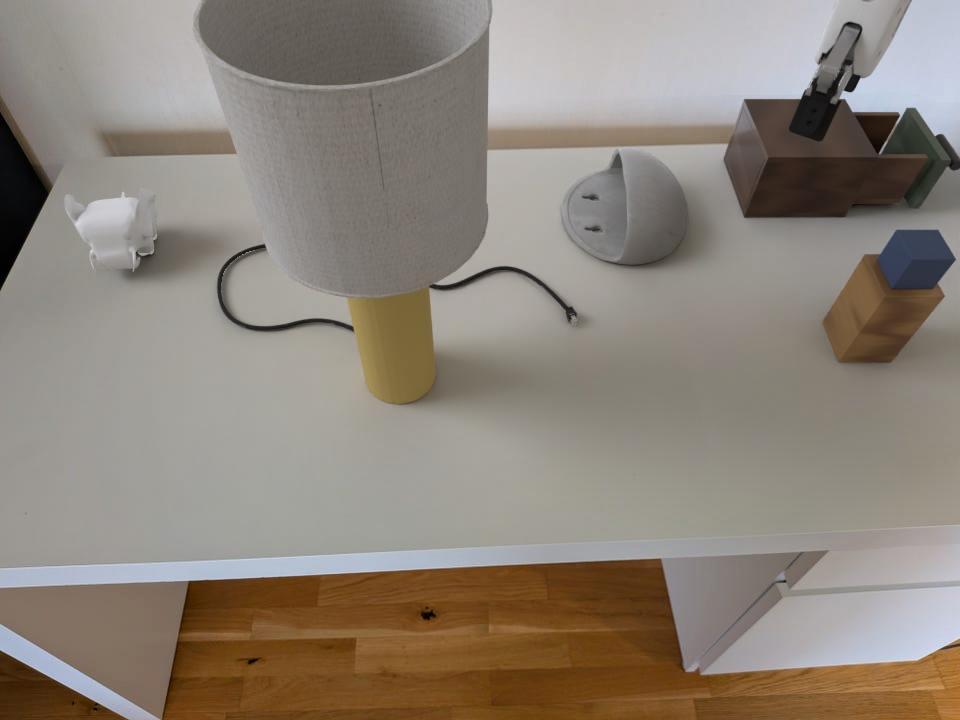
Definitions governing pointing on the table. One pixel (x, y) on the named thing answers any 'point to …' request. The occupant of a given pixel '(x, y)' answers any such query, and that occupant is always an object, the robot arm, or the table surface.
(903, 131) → the drawer
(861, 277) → the stand
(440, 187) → the table lamp
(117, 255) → the elephant figurine
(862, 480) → the table surface
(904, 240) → the block
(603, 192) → the planter
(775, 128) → the cabinet
